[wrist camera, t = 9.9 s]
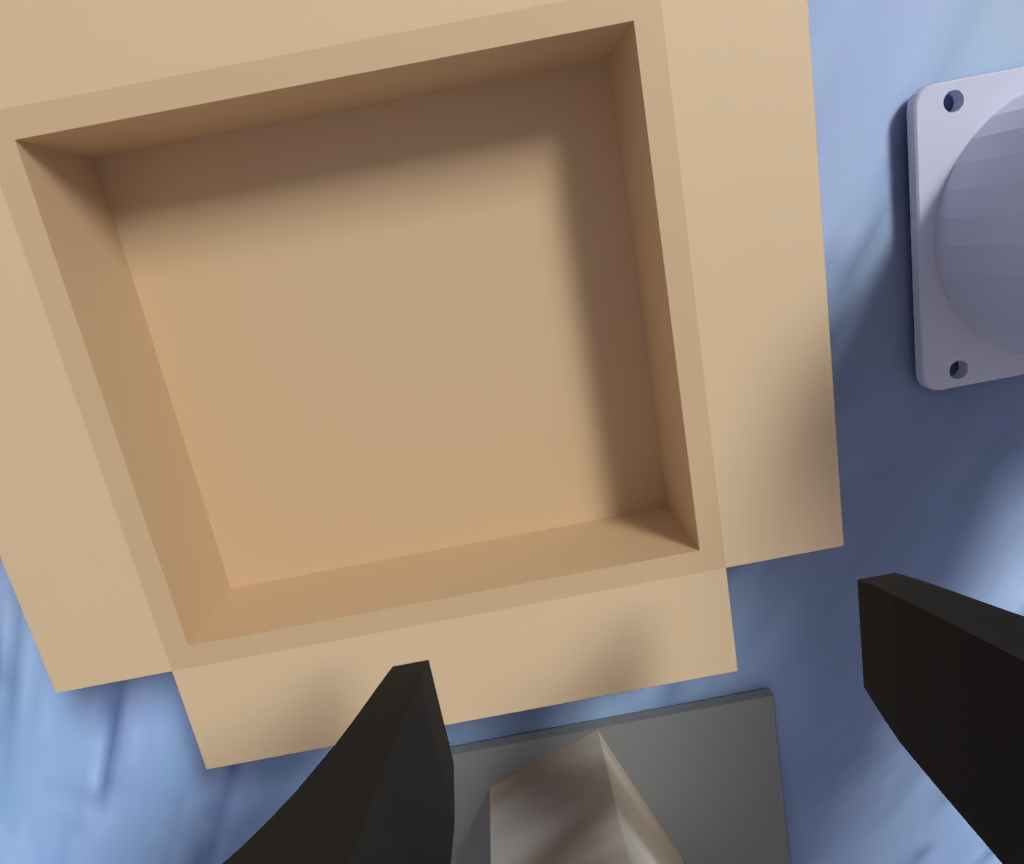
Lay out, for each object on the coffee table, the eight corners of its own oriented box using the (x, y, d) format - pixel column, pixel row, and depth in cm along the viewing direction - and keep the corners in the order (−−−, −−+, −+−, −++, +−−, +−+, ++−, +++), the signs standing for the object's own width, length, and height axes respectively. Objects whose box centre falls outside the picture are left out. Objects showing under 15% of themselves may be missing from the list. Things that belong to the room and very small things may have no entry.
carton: (730, -127, 17) (792, -222, 14) (793, 587, 22) (850, 649, 18) (-92, 32, 17) (-234, -22, 14) (154, 706, 22) (95, 790, 19)
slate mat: (768, 687, 23) (773, 695, 22) (792, 926, 25) (797, 937, 25) (402, 755, 23) (400, 764, 22) (463, 987, 25) (463, 998, 25)
